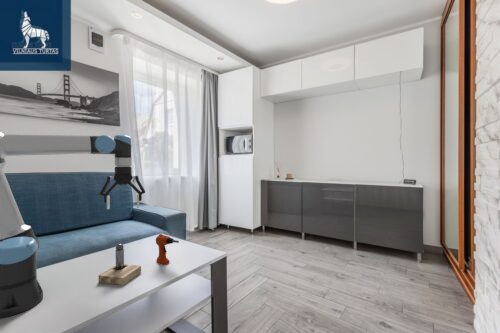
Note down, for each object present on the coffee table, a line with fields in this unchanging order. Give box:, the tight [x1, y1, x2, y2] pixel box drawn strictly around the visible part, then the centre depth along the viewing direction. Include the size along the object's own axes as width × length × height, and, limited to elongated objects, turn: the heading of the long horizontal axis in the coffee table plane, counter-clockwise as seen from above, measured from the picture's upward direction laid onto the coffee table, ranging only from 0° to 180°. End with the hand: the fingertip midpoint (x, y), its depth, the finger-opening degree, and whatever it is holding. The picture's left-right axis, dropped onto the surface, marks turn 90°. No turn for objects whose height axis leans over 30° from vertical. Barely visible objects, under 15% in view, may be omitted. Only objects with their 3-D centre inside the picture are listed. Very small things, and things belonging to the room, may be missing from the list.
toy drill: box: [155, 233, 180, 266], centre depth 120 cm, size 5×19×15 cm, turn 53°
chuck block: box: [98, 263, 142, 286], centre depth 107 cm, size 12×12×3 cm
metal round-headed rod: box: [115, 243, 125, 270], centre depth 110 cm, size 3×3×14 cm
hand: (123, 208), depth 120 cm, fingers open, 13 cm apart
